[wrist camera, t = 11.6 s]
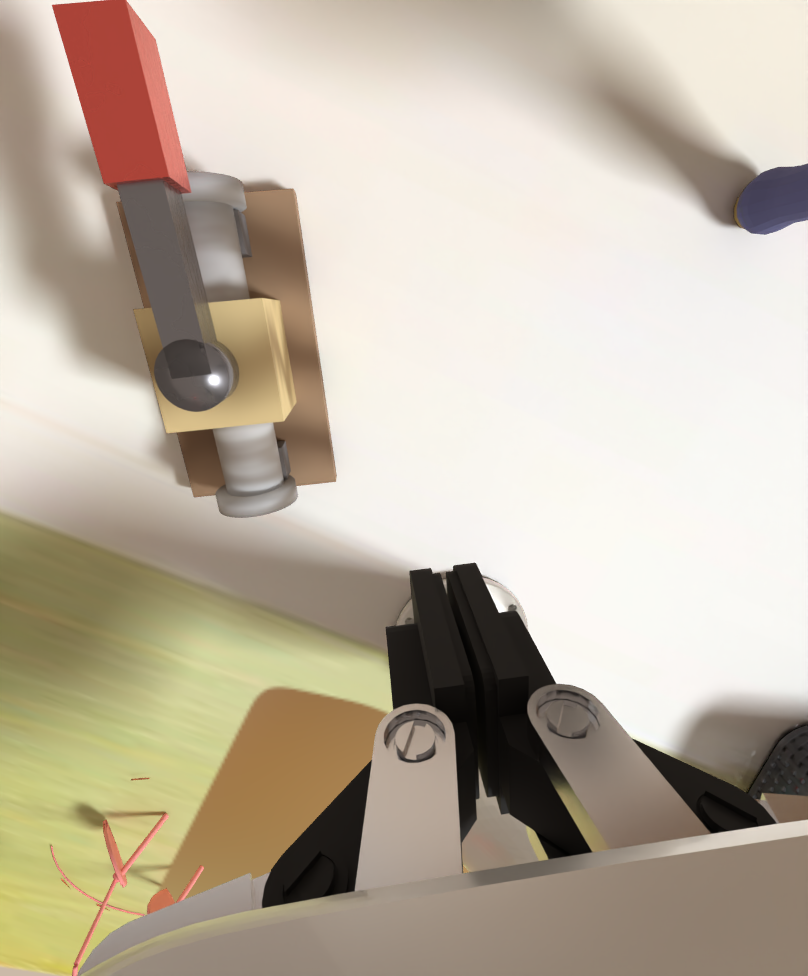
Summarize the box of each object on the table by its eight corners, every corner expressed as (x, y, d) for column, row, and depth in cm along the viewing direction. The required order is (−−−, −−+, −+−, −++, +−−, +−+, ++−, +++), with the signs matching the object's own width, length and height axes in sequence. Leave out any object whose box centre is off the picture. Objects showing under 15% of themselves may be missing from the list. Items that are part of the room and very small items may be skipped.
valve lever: (247, 398, 27) (234, 408, 24) (183, 406, 27) (163, 417, 24) (164, 38, 21) (135, -3, 19) (83, 46, 21) (41, 5, 18)
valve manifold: (336, 475, 39) (330, 520, 30) (199, 490, 38) (155, 541, 30) (296, 193, 32) (273, 151, 23) (127, 206, 31) (41, 167, 23)
